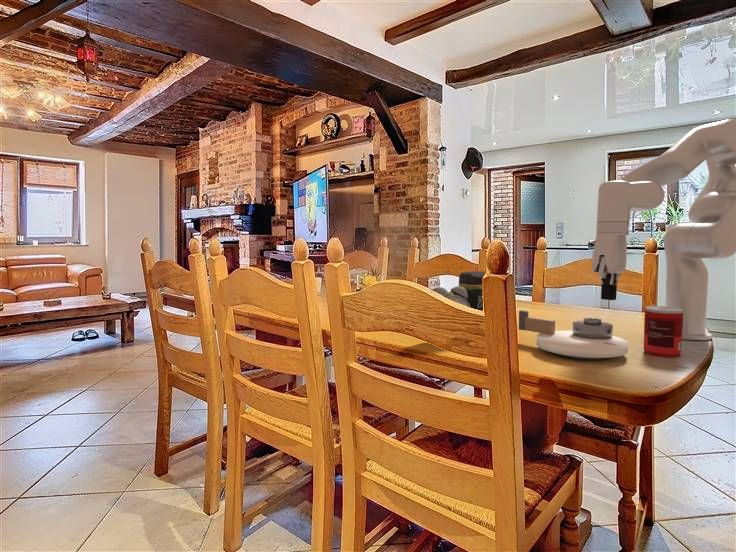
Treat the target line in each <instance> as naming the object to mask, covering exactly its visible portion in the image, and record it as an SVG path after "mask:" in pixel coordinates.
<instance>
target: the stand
mask: <svg viewBox="0 0 736 552" xmlns="http://www.w3.org/2000/svg"><path fill="white" fill-rule="evenodd" d="M550 353H551V354H552V355H555V356H558V357H561V358H565V359H571V360H578V361H605V360H610V359H612V358H613V357H610V358H588V357H576V356H569V355H562V354H557V353H553V352H550Z"/></svg>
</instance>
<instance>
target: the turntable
mask: <svg viewBox="0 0 736 552" xmlns="http://www.w3.org/2000/svg"><path fill="white" fill-rule="evenodd" d="M518 330H520V331H526V332H532V333H533V332H534V333H538V334H536V339H535V340H536V347H538V348H539V349H541V350H544V351H545V352H546V351H547V352H550V353H551V352H553V353H557V354H562V355H569V356H576V357H588V358H610V357H612V358H617V357H621V356H622V357H623V356H625V355H627V354H628V352H629V350H628V348H629V343H628V341H627V340H625V339H624V338H621V337H618V336H615V335H612V338H611V339H586V338H580V337H576V336H574V335H573V334H572V331H573V330H556V320H555V319H554V320H553V319H548V318H540V317H532V316H529V310H525V309H524V310H522V309H521V310H518ZM610 359H611V358H610Z"/></svg>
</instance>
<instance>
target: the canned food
mask: <svg viewBox="0 0 736 552" xmlns="http://www.w3.org/2000/svg"><path fill="white" fill-rule="evenodd" d="M643 320H644V322H643V323H644V325H643V351H644V353H645V354H648V355H650V356H655V357H659V356H660V357H661V358H678V357H680V356H681V353H682V347H683V345H682V344H683V343H682V342H683V341H682V340H683V339H682V328H683V309H680V308H676V307H667V306H665V305H663V306H662V305H649V306H645V308H644V319H643ZM660 357H659V358H660Z"/></svg>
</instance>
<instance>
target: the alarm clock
mask: <svg viewBox="0 0 736 552" xmlns="http://www.w3.org/2000/svg"><path fill="white" fill-rule="evenodd" d="M432 291H435V292H437V293H439V294H441V295H443V296H444V297H446V298H448V299H450V300H452V301H455V302H457V303H460V304H463V305H466V306H468V307H470V305H469V303H468V302H467V300H466V299H467V297H468V294H467V291H466V290H465V289H464V287H463V286H461V287H460V286H459V285H458V286H454V287H451V288H450V292H448V290H447V289H446V288H445V287H442V286H441V287H440V286H439V287H438V286H437V287H435V288H433V290H432Z"/></svg>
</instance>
